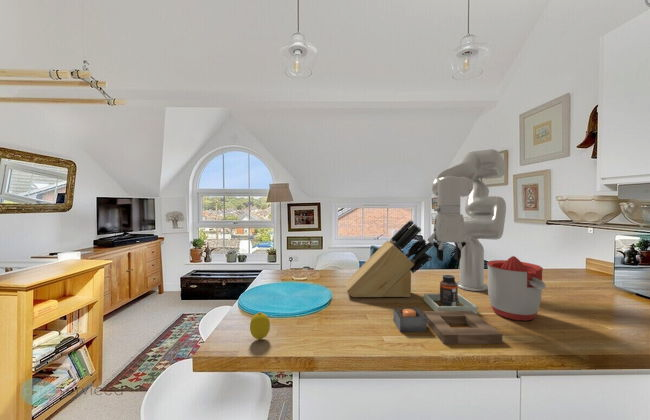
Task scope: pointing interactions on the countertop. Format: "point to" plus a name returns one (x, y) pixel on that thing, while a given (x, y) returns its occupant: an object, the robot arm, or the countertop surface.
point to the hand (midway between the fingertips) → (448, 259)
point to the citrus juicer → (515, 288)
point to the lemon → (259, 326)
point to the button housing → (410, 321)
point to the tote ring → (436, 297)
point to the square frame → (474, 335)
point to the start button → (409, 312)
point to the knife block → (390, 267)
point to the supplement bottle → (448, 291)
